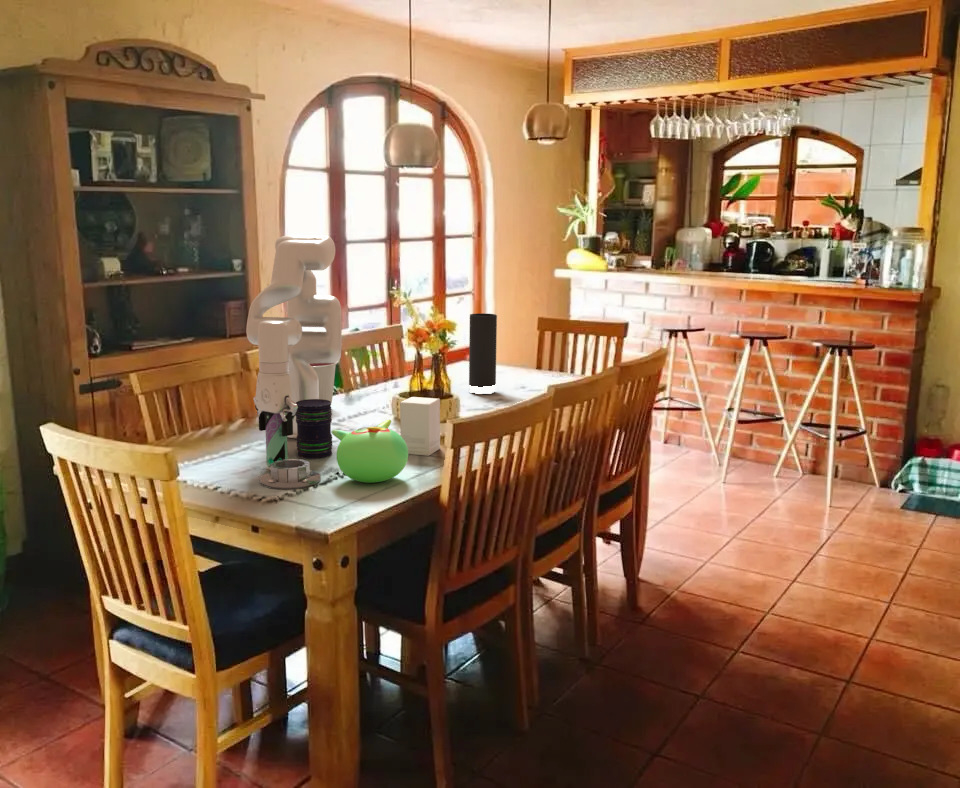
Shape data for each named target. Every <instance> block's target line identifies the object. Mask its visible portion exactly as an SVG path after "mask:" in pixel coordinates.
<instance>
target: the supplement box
mask: <svg viewBox="0 0 960 788" xmlns="http://www.w3.org/2000/svg"><path fill="white" fill-rule="evenodd" d="M399 407H400V408H399V409H400V410H399V411H400V413H399V417H400V418H399V421H400V436H401V437H402V438H403V439H404V441H405V442H406V445H407V448H408V455H418V456H427V457H429V456H430V455H432V454H434V453H435V452H437V451H439V450H440V449H441V414H440V413H441V399H440V398H435V397H434V398H433V397H419V396H418V397H417V396H411V397H408V398H406V399H404V400H402V401H400V402H399Z"/></svg>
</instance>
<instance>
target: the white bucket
mask: <svg viewBox="0 0 960 788" xmlns="http://www.w3.org/2000/svg"><path fill="white" fill-rule="evenodd" d="M337 364H338V362H336V363H311V364H310V365H311V367H312V368H313V369H314V370H315V372H316V373H317V376H318V381H319V399H323V400H329V401H331V404H332V402H333V394H334V388H335V387H334V386H335V374H336V365H337Z"/></svg>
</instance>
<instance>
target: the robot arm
mask: <svg viewBox="0 0 960 788" xmlns="http://www.w3.org/2000/svg"><path fill="white" fill-rule="evenodd" d="M274 248H275V253H274V259H273V265H272V272H271V278H270V279H271V280H270V284H268V285H267V286H266V287H265V288H263V289H262V290H261V291H260V292H259V293H258V294H257V295H256V297H254V299H253V300H252V302H251V304H250V306H249V308H248V309H249V310H248V314H247V315H248V316H247V321H246V328H245V329H246V331H245V332H246V339H247V340H248V341H249V343H250V344H252V345H255V346H258V369H259V370H258V373H257V378H256V386H255V387H256V388H255V396H254V397H253V403H254V407H255V410H256V411H257V412H256V414H257V416H258V431H260V432H262V431H266V429H265V412H270V413H275V414H277V413H280V415H281V417H282V419H283V421H281V425H282V436H287V438H289V439H297V423H296V411H297V408H298V406H297V404H296V402H298V401H301V400H307V399H319V381H318V376H317V373H316V372H315V370H314V369H313V368H312V367H311V365H310V364H311V363H336V362H337V363H338V362H339V361H340V359H341V357H342V347H343V345H342V336H343V335H342V333H343V331H342V330H343V329H342V320H343V319H342V307H341V303H340V301H339V299H338V298H337V297H336V296H333V295H327V294H326V295H322V294H321V295H319V294H317V279H316V276H315V274H314V273H313V271H325V270H326V269H328V267H330V266H331V264H332V263H333V261H334V259H335V257H336V245H335V242H334V240H333V239H332V237H330V236H329V235H305V234H303V235H302V234H294V235H293V234H288V235H284V236H283V235H282V236H280V237H278V238H276V241H275V244H274ZM286 302H287V307H286V308H287V311H286V312H287V317H280V316H263V315H264V314H265V313H267V311H269V310H270V309H272V308H274V307H276V306H279V305H281V304H284V303H286ZM303 328H324V329H325V331H309V330H308V331H303ZM285 413H286V415H285ZM331 424H332V421H331Z"/></svg>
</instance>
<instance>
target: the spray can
mask: <svg viewBox="0 0 960 788" xmlns="http://www.w3.org/2000/svg"><path fill="white" fill-rule="evenodd" d="M285 415H287V413H285ZM281 421H283V419H282V417H281V415H280V413H277V414H275V413H270V412H265V429H266V430H265V450H266V451H265V452H266V455H265V456H266V469H267V470H270V471H271V465H270V464H272V463H273V462H275V461H279V460H284V459H289V457H288V456H289V454H288V453H289V452H288V451H289V450H288V437H287V436H282V425H281Z"/></svg>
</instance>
